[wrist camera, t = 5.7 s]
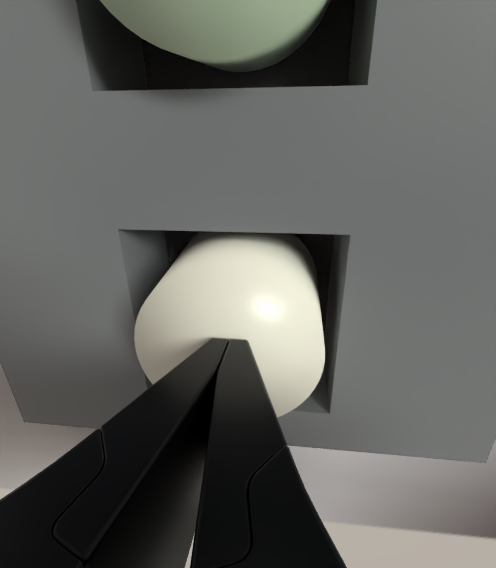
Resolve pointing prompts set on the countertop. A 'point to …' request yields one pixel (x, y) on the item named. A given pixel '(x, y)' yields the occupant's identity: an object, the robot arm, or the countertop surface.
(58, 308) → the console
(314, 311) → the ivory button
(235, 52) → the sage button
